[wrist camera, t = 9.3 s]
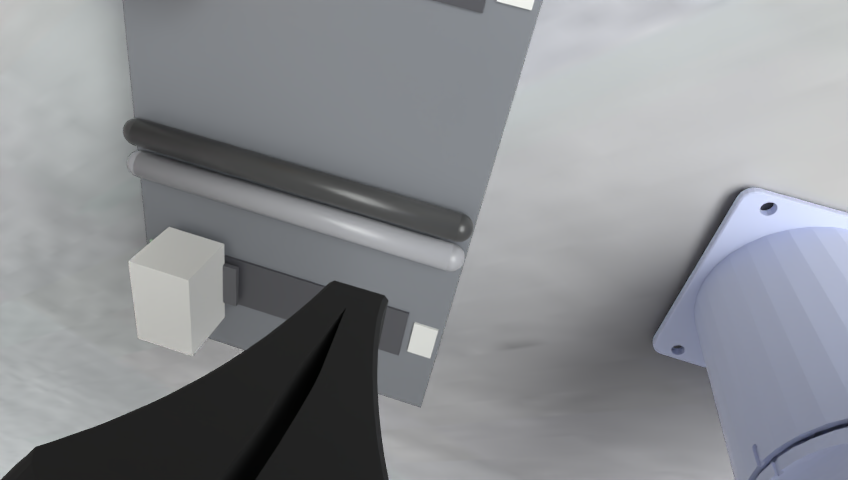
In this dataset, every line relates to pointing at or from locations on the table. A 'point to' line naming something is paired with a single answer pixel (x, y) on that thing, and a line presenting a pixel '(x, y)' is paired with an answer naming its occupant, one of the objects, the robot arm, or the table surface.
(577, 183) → the table surface
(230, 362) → the robot arm
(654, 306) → the table surface
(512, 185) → the table surface
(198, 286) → the block
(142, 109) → the panel
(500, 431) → the table surface
